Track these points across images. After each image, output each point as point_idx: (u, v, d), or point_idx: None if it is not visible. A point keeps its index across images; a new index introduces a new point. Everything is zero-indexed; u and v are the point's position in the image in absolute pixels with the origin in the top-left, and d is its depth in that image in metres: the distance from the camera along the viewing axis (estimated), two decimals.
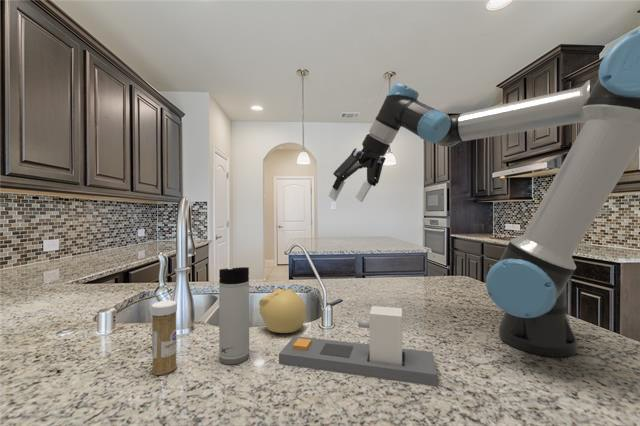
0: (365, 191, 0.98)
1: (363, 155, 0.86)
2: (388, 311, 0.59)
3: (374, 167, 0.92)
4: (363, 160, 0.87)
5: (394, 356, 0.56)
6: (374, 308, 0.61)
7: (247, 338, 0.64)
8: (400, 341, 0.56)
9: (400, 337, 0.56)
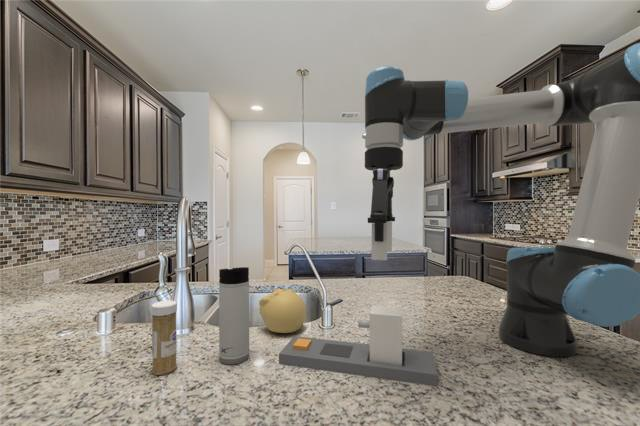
0: (389, 233, 0.66)
1: None
2: (388, 311, 0.59)
3: (392, 191, 0.62)
4: (387, 183, 0.57)
5: (394, 356, 0.56)
6: (374, 308, 0.61)
7: (247, 338, 0.64)
8: (400, 341, 0.56)
9: (400, 337, 0.56)
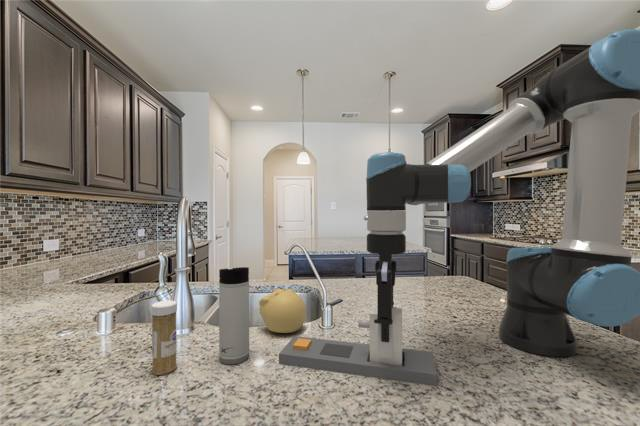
0: None
1: (389, 267, 0.55)
2: None
3: None
4: None
5: (394, 356, 0.56)
6: (374, 308, 0.61)
7: (247, 338, 0.64)
8: (400, 341, 0.56)
9: (400, 337, 0.56)
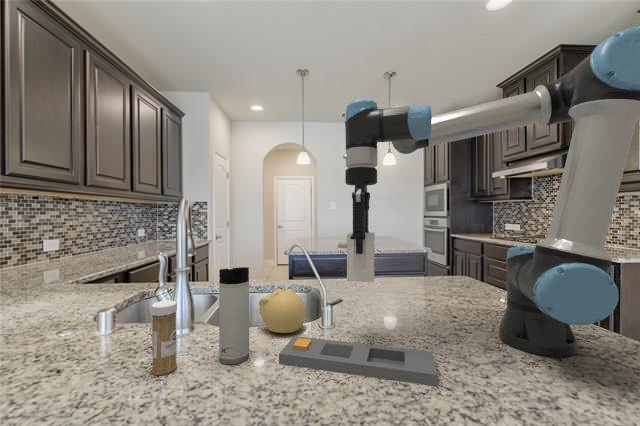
0: None
1: None
2: None
3: (368, 205, 0.73)
4: (364, 197, 0.68)
5: (366, 267, 0.68)
6: (351, 232, 0.73)
7: (247, 338, 0.64)
8: (372, 254, 0.68)
9: (371, 251, 0.68)
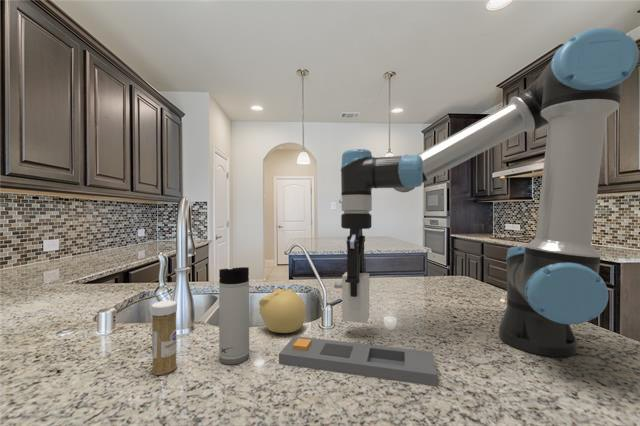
0: None
1: (357, 238, 0.71)
2: None
3: (363, 247, 0.76)
4: (358, 242, 0.72)
5: (360, 308, 0.72)
6: (346, 273, 0.76)
7: (247, 338, 0.64)
8: (366, 296, 0.72)
9: (365, 293, 0.72)
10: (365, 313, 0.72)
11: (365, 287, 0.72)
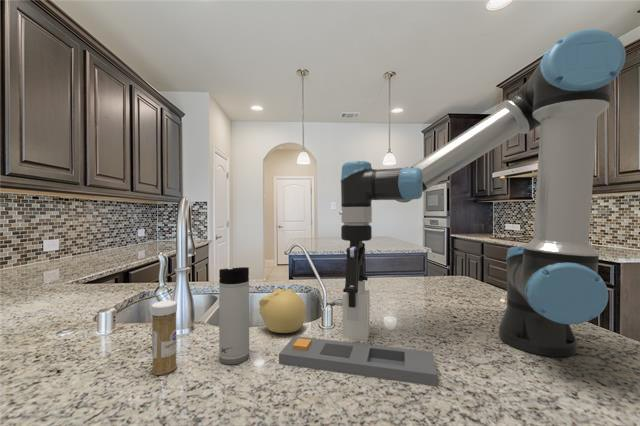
0: None
1: None
2: None
3: (364, 257, 0.77)
4: (358, 254, 0.71)
5: (361, 326, 0.72)
6: None
7: (247, 338, 0.64)
8: (366, 314, 0.72)
9: (366, 312, 0.72)
10: (366, 331, 0.72)
11: (365, 305, 0.72)
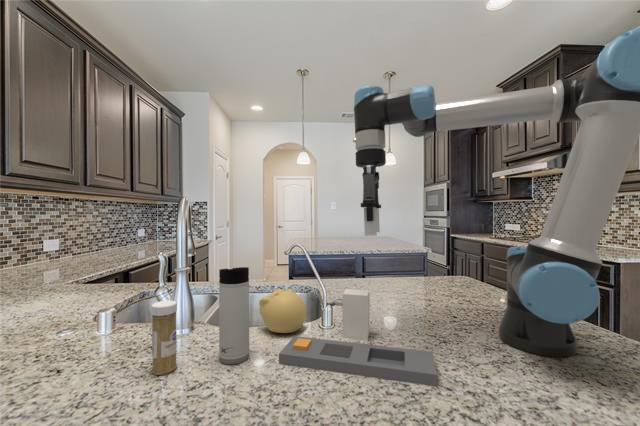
0: (377, 218, 0.82)
1: None
2: (358, 292, 0.75)
3: (378, 183, 0.78)
4: (374, 176, 0.73)
5: (361, 326, 0.72)
6: (347, 290, 0.76)
7: (247, 338, 0.64)
8: (366, 314, 0.72)
9: (366, 312, 0.72)
10: (366, 331, 0.72)
11: (365, 305, 0.72)
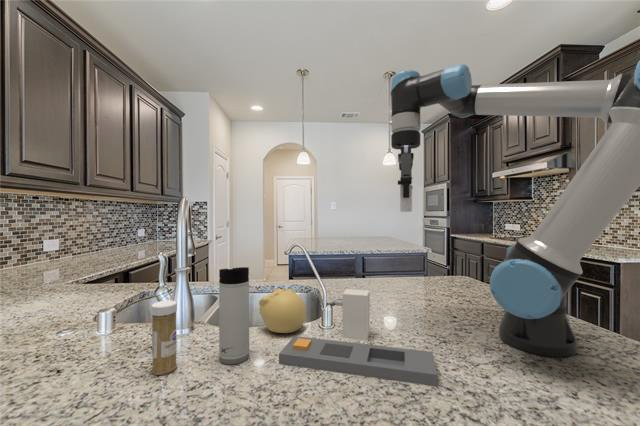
0: None
1: None
2: (358, 292, 0.75)
3: None
4: None
5: (361, 326, 0.72)
6: (347, 290, 0.76)
7: (247, 338, 0.64)
8: (366, 314, 0.72)
9: (366, 312, 0.72)
10: (366, 331, 0.72)
11: (365, 305, 0.72)
